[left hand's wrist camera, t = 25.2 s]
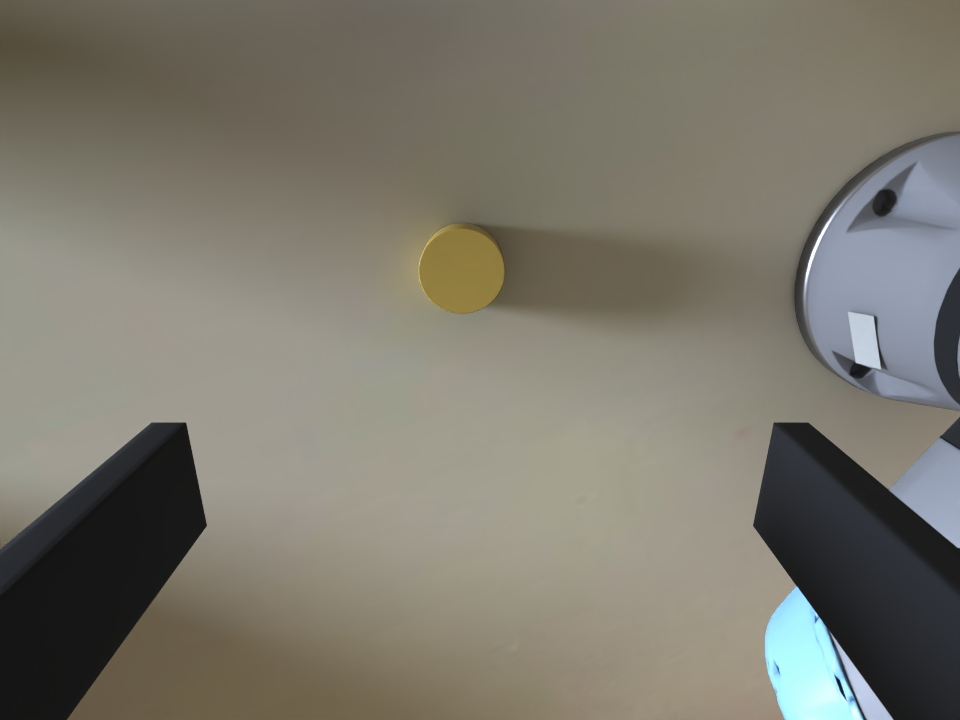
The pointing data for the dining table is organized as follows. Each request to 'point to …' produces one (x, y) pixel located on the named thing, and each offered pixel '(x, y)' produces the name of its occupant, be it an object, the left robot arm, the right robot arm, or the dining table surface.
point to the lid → (461, 268)
